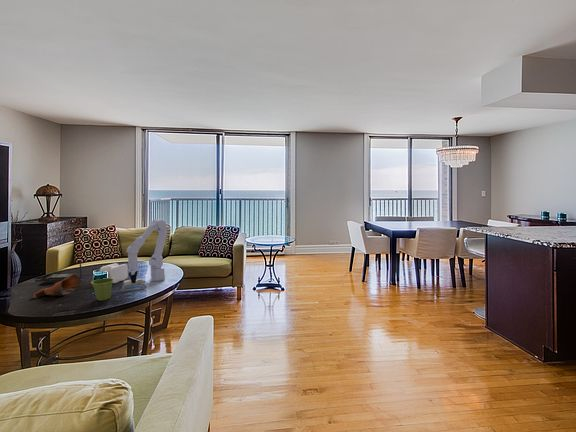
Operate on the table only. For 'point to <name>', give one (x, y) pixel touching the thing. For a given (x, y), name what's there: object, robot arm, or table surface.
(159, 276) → the robot arm
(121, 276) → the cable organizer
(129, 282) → the tall beige pillar
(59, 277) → the black wireless router
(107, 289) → the plant pot
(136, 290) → the board
